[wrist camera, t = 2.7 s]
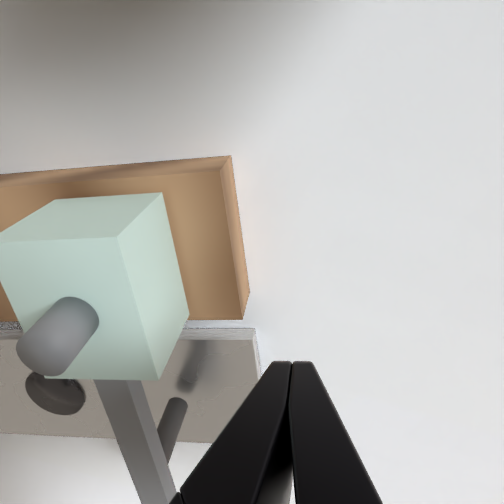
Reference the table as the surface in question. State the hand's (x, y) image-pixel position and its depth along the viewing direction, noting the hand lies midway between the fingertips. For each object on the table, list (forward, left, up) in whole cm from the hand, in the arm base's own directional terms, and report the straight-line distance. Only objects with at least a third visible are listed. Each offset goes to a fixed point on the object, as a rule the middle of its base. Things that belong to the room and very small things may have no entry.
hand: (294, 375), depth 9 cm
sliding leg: (+6, +5, -7) cm, 10 cm away
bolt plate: (+14, +9, -8) cm, 18 cm away
